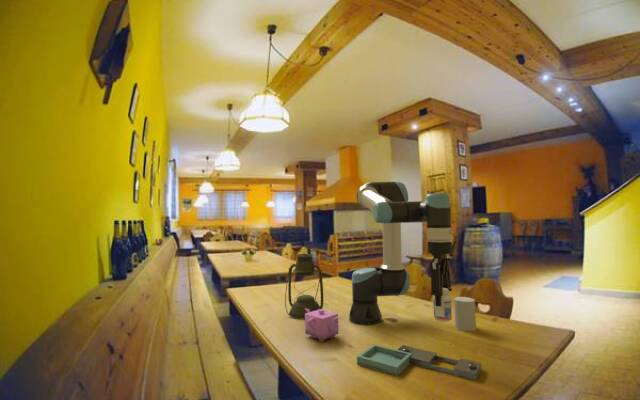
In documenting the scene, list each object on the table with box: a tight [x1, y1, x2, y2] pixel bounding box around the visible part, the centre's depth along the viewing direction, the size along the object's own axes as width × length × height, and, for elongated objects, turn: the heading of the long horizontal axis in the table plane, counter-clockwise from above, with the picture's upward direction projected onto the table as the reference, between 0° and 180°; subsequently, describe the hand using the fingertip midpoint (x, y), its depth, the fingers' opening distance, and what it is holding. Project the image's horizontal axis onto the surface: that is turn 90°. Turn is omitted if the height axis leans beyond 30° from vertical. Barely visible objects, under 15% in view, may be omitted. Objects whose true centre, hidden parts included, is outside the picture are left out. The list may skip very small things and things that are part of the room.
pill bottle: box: [432, 288, 453, 323], centre depth 102 cm, size 5×5×10 cm
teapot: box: [304, 308, 340, 343], centre depth 129 cm, size 15×13×11 cm
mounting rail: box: [393, 344, 482, 382], centre depth 103 cm, size 26×8×3 cm, turn 53°
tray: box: [356, 344, 412, 377], centre depth 105 cm, size 14×12×2 cm
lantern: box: [284, 253, 324, 320], centre depth 162 cm, size 21×18×30 cm
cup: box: [453, 296, 477, 332], centre depth 136 cm, size 8×8×12 cm
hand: (442, 313), depth 102 cm, fingers closed on pill bottle, 5 cm apart
